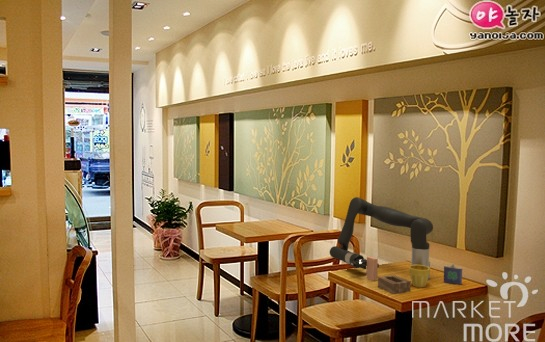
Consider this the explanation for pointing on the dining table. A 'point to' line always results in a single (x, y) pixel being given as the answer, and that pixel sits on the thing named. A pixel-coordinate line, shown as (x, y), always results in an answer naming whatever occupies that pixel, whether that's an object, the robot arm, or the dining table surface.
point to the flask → (453, 275)
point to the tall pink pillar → (372, 268)
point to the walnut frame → (394, 284)
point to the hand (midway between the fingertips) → (372, 266)
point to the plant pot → (419, 275)
